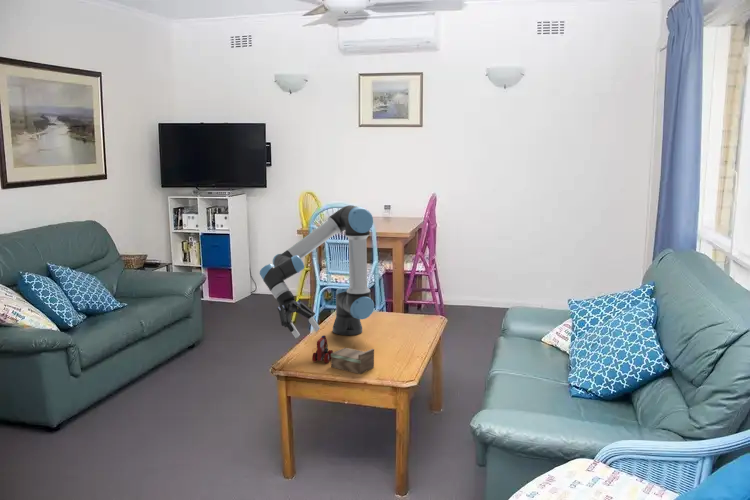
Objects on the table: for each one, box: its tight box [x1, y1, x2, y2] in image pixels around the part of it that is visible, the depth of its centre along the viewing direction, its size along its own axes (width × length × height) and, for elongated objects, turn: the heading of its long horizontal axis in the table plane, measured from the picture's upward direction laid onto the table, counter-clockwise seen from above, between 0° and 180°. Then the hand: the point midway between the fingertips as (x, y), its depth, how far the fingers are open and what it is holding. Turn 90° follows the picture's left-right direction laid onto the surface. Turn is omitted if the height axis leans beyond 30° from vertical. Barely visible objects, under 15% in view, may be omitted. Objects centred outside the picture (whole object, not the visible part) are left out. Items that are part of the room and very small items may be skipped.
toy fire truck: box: [311, 335, 334, 364], centre depth 271 cm, size 7×12×10 cm, turn 168°
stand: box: [330, 347, 375, 375], centre depth 262 cm, size 15×10×8 cm
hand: (308, 333), depth 273 cm, fingers open, 13 cm apart
